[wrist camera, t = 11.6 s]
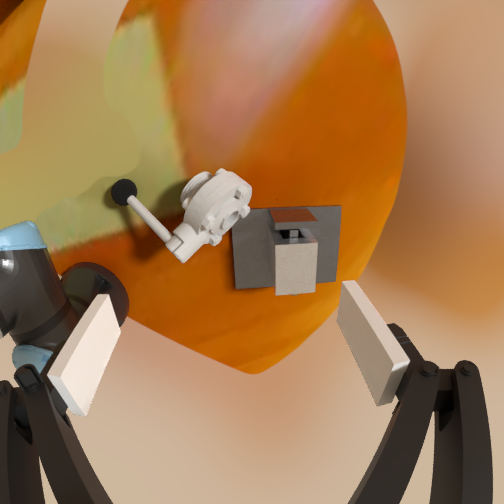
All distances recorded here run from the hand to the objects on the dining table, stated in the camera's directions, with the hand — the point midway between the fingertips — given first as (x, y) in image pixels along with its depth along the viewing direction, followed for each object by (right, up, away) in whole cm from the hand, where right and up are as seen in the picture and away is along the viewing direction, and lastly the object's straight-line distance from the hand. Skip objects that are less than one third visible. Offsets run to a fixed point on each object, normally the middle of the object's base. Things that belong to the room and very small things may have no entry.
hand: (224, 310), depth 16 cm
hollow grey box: (+7, +4, +33) cm, 34 cm away
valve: (-9, +12, +29) cm, 32 cm away
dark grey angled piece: (+7, +4, +33) cm, 34 cm away
